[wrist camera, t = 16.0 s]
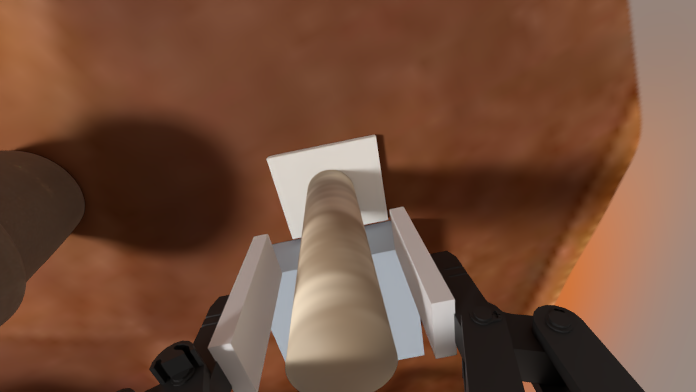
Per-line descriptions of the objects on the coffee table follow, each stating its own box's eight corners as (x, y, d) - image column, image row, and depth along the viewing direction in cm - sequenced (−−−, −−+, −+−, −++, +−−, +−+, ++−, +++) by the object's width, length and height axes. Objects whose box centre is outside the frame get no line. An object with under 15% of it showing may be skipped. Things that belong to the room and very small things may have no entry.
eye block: (297, 341, 29) (293, 380, 26) (260, 246, 24) (249, 278, 20) (411, 318, 29) (424, 354, 25) (399, 219, 24) (412, 246, 20)
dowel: (313, 216, 23) (302, 410, 10) (302, 175, 21) (270, 340, 8) (358, 207, 22) (403, 388, 10) (349, 165, 21) (390, 314, 8)
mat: (293, 235, 24) (292, 239, 23) (268, 156, 21) (266, 158, 20) (386, 216, 24) (388, 219, 23) (374, 134, 21) (375, 136, 20)
